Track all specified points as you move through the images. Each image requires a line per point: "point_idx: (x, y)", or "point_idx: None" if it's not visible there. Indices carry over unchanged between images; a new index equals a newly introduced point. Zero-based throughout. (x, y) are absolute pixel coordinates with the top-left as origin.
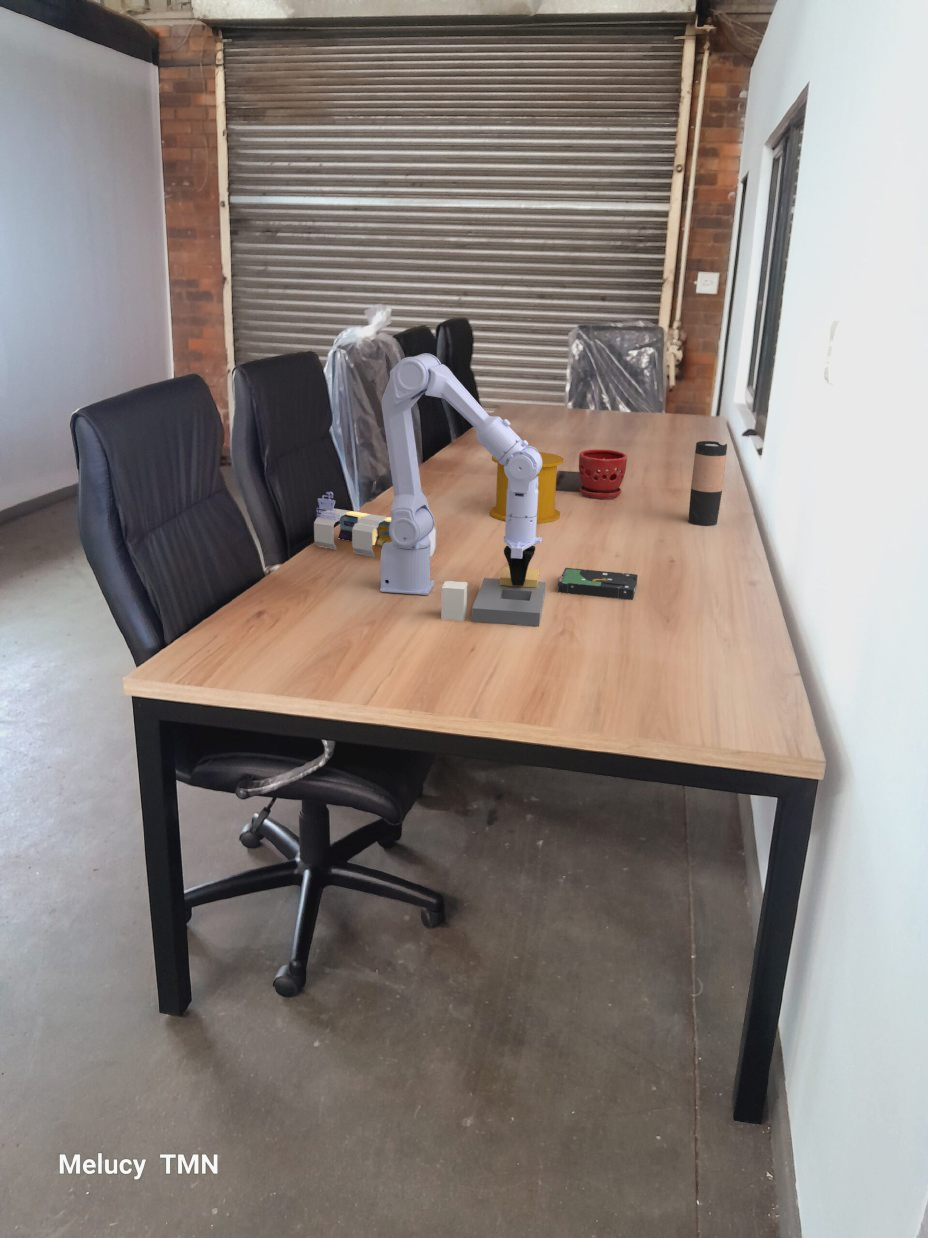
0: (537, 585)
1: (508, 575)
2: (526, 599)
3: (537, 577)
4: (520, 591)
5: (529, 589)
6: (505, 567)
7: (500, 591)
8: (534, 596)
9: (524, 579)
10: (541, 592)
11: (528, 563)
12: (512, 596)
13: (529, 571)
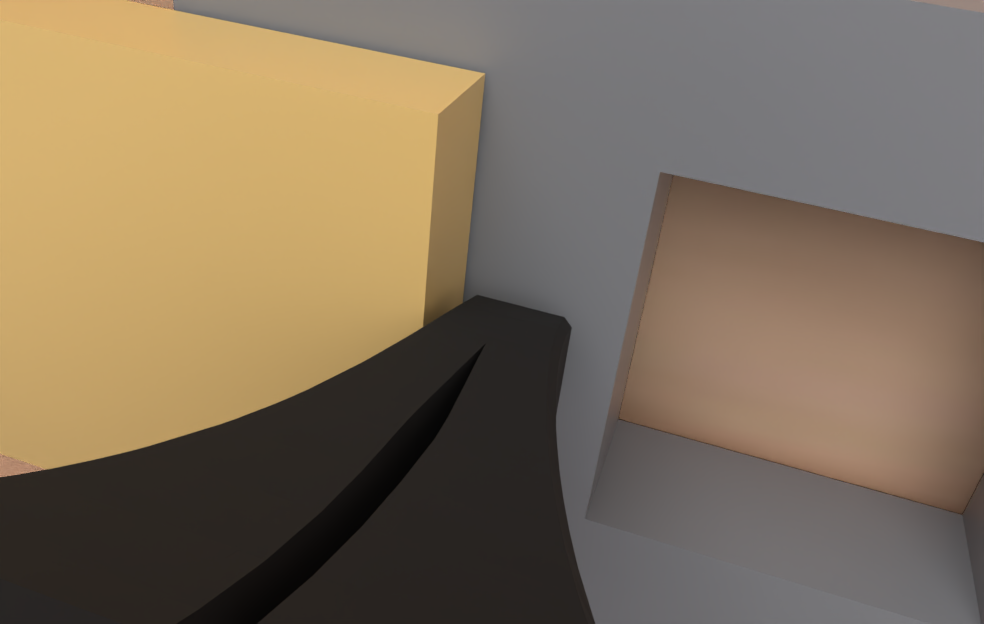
0: (358, 41)
1: None
2: (665, 190)
3: (297, 87)
4: (630, 320)
5: (568, 194)
6: (3, 438)
7: (675, 560)
8: (952, 171)
9: (556, 367)
10: (723, 14)
11: (583, 600)
12: (623, 365)
13: (39, 173)
